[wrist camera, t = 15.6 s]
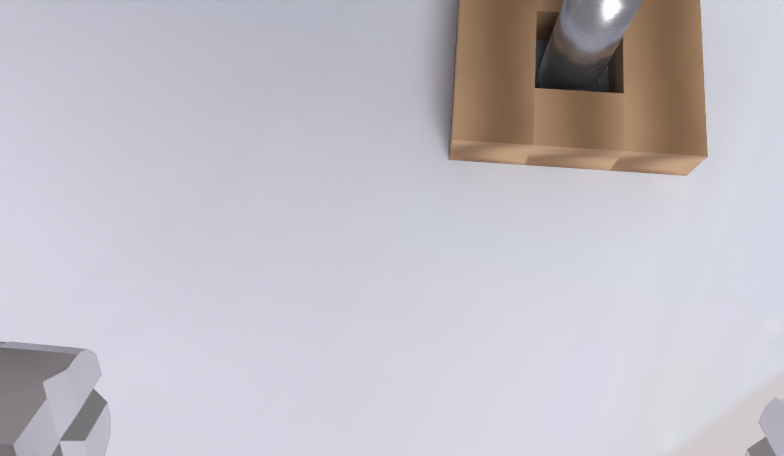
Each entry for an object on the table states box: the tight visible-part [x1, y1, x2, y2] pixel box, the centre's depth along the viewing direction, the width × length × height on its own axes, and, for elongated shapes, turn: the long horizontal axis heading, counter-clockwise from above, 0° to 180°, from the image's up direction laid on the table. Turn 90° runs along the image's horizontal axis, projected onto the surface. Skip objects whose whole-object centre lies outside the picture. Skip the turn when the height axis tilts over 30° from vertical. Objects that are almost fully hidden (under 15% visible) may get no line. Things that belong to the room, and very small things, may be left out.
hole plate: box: [449, 0, 708, 175], centre depth 41 cm, size 14×12×3 cm
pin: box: [538, 0, 643, 91], centre depth 38 cm, size 4×4×10 cm
